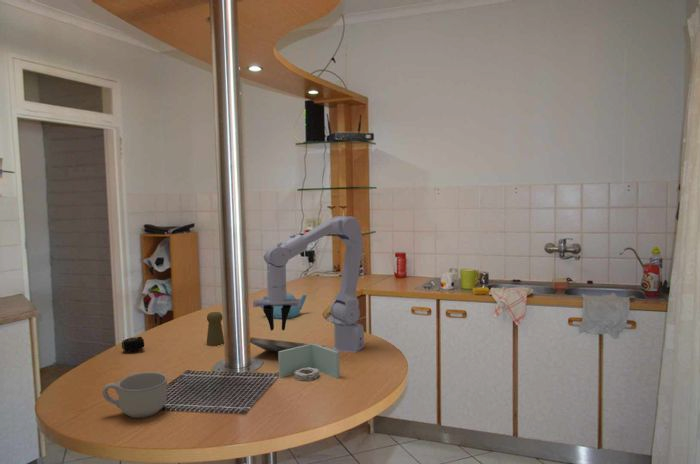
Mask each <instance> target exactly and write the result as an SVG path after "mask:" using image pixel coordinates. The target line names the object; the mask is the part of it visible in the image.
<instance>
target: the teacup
mask: <svg viewBox="0 0 700 464" xmlns="http://www.w3.org/2000/svg"><path fill="white" fill-rule="evenodd" d="M167 383H168V376H167V375H166V374H164V373H161V372H156V371H146V372H144V371H143V372H138V373H133V374H129V375H127V376H124V377H123V378H121V379H120V380H119V381H118V382H117V383H116V382H111V383H110V382H109V383H107V384H105V386H104V388H103V390H102V396H103V398H104V400H106V402H108V403H111V404H112V405H115V406H116V407H117V408H120V411H121V412H122V413H124V414H125V415H127V416H129V418H134V419H141V418H147V417H151V416H153V415H156V414H157V413H159V411H160V410H161V409H163V407H164V406H165V404H166V403H167V397H168V387H167V386H168V384H167ZM109 389H114V390H115V391H116V394H117V395H118V399H116V398H113V397H112V396H110V394H109V393H108V390H109Z"/></svg>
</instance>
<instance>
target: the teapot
mask: <svg viewBox="0 0 700 464" xmlns="http://www.w3.org/2000/svg"><path fill="white" fill-rule="evenodd" d="M306 298H307V295H306V294H302V295H301V297H300V299H301V306H300V307H297V306H291V309H290V311H289V314H288V316H287V319H292V318H296V317H297V316H299V314H300V312H301V310H302V308H303V307H304V304H305V301H306ZM262 299H268V295H267V296H265V295H263V296H262ZM286 299H296V297H295V295H294V294H292V293H287V292H286ZM282 307H283V306H274V309H273V319H277V320H278V319H279V320H282V313H281V308H282ZM260 308H261V309H262V310H263V309H264V306H262V307H260Z"/></svg>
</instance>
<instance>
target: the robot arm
mask: <svg viewBox="0 0 700 464" xmlns="http://www.w3.org/2000/svg"><path fill="white" fill-rule="evenodd" d="M361 228H362V224H361V223H360V222H359V221H358V219H357V218H356V217H354V216H343V215H342V216H340V215H335V216H333V217H332V218H328V219H326V220H325V221H323V222H322V223H320V224H318V226H315V227H314V228H312V229H311V230H309V231H307V232H306V233H305V234H303V235H302V234H299V233H297V234H295V233H293V234H291V235H289V238H287V239H286V240H283V241H282V242H281V241H278V242H277V245H276V246H269V247H268V248H267V249H266V251H264V252H265V253H264V255H263V260H264V262H265V263H266V282H267V287H266V288H267V297H268V299H263V298H262V299H261V298H260V299H254V300H252V305H253V306H252V307H253V308H257V307H260V308H261V307H262V306H264V309H262V311H263V313H264V315H265V316H266V319H267V321H268V324H269V330H270V331H273V330H274V329H275V323H274V318H273V309H274V306H283V307H282V308H281V313H282V319H281V331H285V330H286V324H287V323H286V322H287V316H288V314H289V311H290V309H291V306H297V307H300V306H301V298H300V299H299V298H295V299H286V293H287V271H286V270H287V269H286V268H287V267H286V266H287V264H288V263H289V260H291V259H293V258H294V257H297V256H298V255H300V254H301V253H303V252H305V251H306V250H307V249H308V246H309V245H310V244H312V243H314V242H316V241H317V240H319V239H321V238H324V237H325V236H327V235H335V236H337V237H338V238H340V239H341V241H342V242H343V243H344V244H345V246H346V247H345V253H344V260H343V265H342V272H341V278H340V285H339V291H338V293H336V295H335V296H334V301H333V303H332V304H331V306H330V314H331V316H332V318H333V325H334V327H333V329H334V331H333V333H334V346H333V347H331V348H330V349H332V350H335V351H338V352H347V353H357V352H359V351H360V350H362V349H363V348H365V347H364V346H365V328H364V325H363V324H360V323H358V322H357V321H358V320H359V318H360V315H361V311H360V309H359V305H360V301H359V299H358V297H357V295H356V292H357V288H358V281H359V275H360V274H359V273H360V267H361V261H362V255H363V250H364V249H363V248H364V239H363V235H362V231H361Z"/></svg>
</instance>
